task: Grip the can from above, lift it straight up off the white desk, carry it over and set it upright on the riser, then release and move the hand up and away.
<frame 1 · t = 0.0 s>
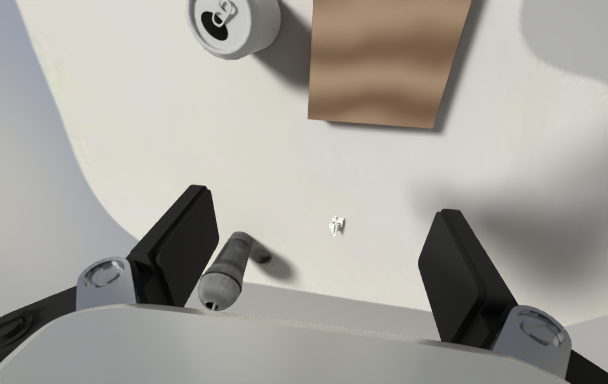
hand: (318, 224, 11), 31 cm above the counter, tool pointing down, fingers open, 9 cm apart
can: (253, 17, 35), on the counter
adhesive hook: (342, 221, 51), on the counter
riser: (377, 41, 34), on the counter
beverage cup: (241, 239, 56), on the counter
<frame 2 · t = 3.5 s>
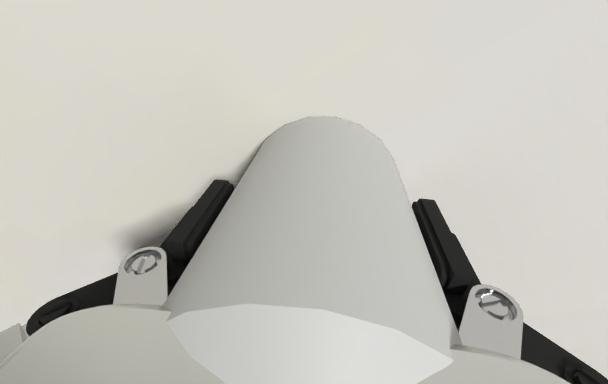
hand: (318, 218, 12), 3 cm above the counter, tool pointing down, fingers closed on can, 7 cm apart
can: (323, 177, 15), on the counter, touching gripper
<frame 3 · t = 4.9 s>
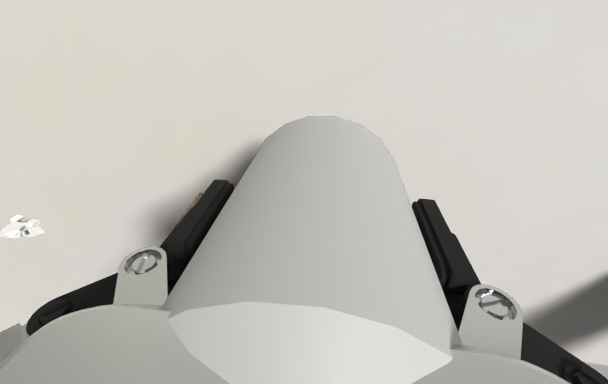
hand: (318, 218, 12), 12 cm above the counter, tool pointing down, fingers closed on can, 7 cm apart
can: (323, 177, 15), point 8 cm above the counter, touching gripper
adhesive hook: (37, 227, 33), on the counter
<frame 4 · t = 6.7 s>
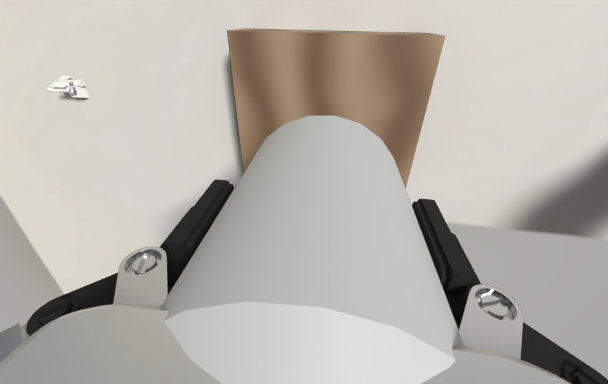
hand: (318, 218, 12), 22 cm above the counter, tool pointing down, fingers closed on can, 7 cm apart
can: (323, 176, 15), point 18 cm above the counter, touching gripper
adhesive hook: (82, 94, 34), on the counter
riser: (328, 112, 31), on the counter
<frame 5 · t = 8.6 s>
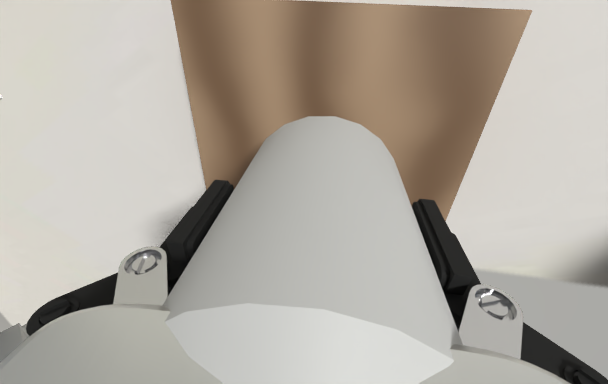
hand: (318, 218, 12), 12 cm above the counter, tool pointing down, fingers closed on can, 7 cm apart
can: (323, 177, 15), point 9 cm above the counter, touching gripper
riser: (330, 125, 22), on the counter
when the fingers open (10 cm above the counter, at t = 10.2 s): can drops 1 cm, resting on riser.
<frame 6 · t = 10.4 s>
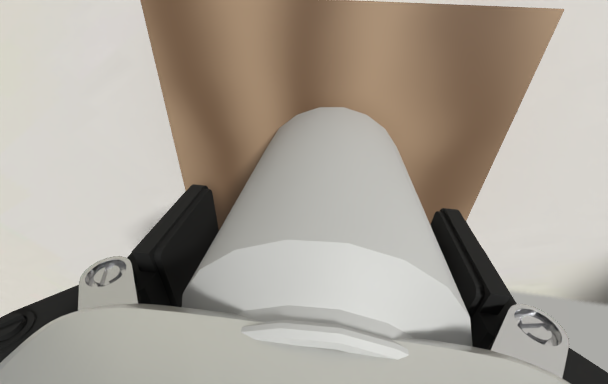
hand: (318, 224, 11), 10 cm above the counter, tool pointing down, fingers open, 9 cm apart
can: (330, 165, 16), point 5 cm above the counter, touching riser
riser: (327, 136, 20), on the counter
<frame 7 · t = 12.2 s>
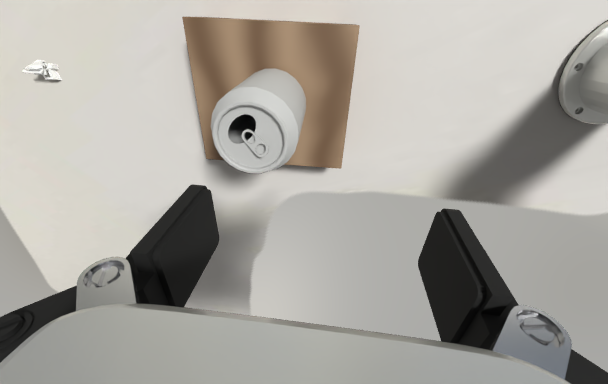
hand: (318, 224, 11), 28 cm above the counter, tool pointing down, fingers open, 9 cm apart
can: (275, 101, 32), point 5 cm above the counter, touching riser
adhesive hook: (56, 77, 38), on the counter
riser: (278, 92, 36), on the counter
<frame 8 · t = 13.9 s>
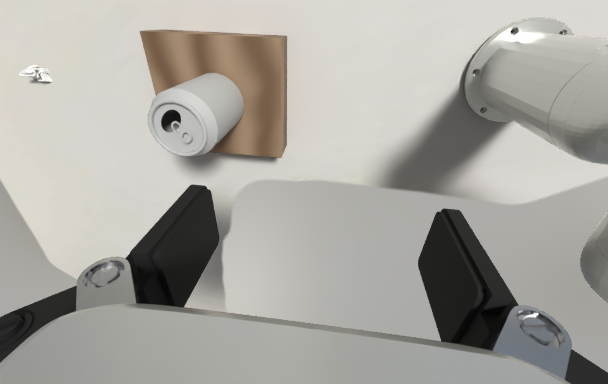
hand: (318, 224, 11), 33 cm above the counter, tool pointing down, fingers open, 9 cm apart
can: (220, 100, 38), point 5 cm above the counter, touching riser
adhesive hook: (47, 79, 45), on the counter
riser: (229, 92, 42), on the counter
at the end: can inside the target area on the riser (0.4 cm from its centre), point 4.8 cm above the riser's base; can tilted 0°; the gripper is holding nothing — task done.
